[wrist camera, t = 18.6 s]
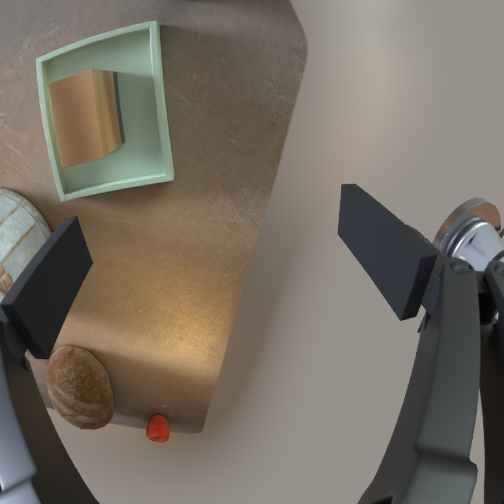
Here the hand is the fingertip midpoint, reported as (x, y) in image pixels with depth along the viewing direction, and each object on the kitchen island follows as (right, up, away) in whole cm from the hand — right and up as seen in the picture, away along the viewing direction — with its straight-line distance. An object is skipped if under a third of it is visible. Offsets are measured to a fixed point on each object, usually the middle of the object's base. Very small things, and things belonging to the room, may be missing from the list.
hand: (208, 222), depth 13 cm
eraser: (-16, +15, +14) cm, 26 cm away
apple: (-23, -45, +53) cm, 73 cm away
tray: (-16, +15, +15) cm, 27 cm away
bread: (-37, -31, +41) cm, 63 cm away
